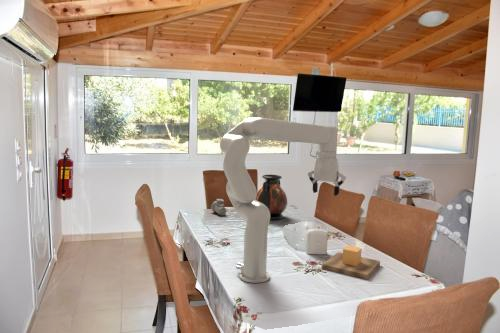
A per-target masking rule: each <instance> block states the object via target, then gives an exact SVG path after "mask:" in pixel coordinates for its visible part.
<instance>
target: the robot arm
mask: <svg viewBox="0 0 500 333" xmlns="http://www.w3.org/2000/svg"><path fill="white" fill-rule="evenodd" d="M338 131H339V130H338V128H337V127H336V126H330V125H329V126H328V125H317V124H312V123H311V124H309V123H302V122H295V121H290V120H284V119H275V118H266V117H259V116H258V117H256V116H255V117H253V116H251V117H247V118H245V119H243V120H242V121H241V122H239V123H238V124H237V125H235V126H234V127H233V128H232V129H230V130H229V131H228V132H227V133H226V134H224V135H223V136H222V137H221V139H220V142H219V147H220V150H221V152H222V153H224V154H225V155H224V159H223V162H222V163H223V164H222V166H223V167H222V168H223V172H224V175H225V178H226V179H227V182H226V186H225V190H226V194H227V196H228V199H229V201H230V203H231V204H232V207H233V208H234V210H235V212H236V214H237V215H238V217H240V219H242V220H244V221H245V222H246V225H245V228H244V234H243V262H239V261H238V262H237V263H236V266H235V269H237V270H240V272H239V274H238V275H239V278H240V280H241V281H243V282H246V283H250V284H251V283H252V284H259V283H265V282H267V281H269V280H270V279H271V278H270V277H271V274H270V273H269V272H268V271H267V259H268V257H267V256H268V235H269V234H268V232H269V225H270V222H271V220H270V212H269V209H268V208H267V207H266V206H265V205H264V204H263V203H261V202H258V201H256V200H255V198H256V195H257V192H258V191H257V188H256V185H255V183H254V182H253V180H252V178H251V175H250V174H249V171H248V169H247V167H246V158H247V156H248V154H249V151H250V147H251V146H250V141H251V140H252V139H255V140H256V139H257V140H263V141H264V140H265V141H275V142H283V143H284V142H285V143H306V144H315V145H318V151H316V152H315V154H316V155H317V157H316V158H315V163H314V169H313V170H311V171H310V172H309V171H308V173H307V175H308V178H309V181H310V182H311V183H312V193H314V194H315V193H317V192H318V191H319V190H318V188H319V187H318V186H319V184H318V181H320V182H329V183H333V184H334V185H335V186H334V188H333V195H334V196H336V197H337V196H338V195H339V194H340V187H341V185H342V184H344V182H345V181H346V179H347V177H346V176H345V175H344V174H343V173H341V172H340V169H339V167H340V166H339V159H338V158H337V153H338V152H337V150H338V135H339V133H338ZM339 178H341V179H340V180H339Z"/></svg>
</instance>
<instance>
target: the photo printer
mask: <svg viewBox="0 0 500 333" xmlns="http://www.w3.org/2000/svg"><path fill="white" fill-rule="evenodd" d="M328 239H329V238H328V231H327V230H326V229H322V228H311V229H309V230H307V231H306V243H305V246H306V249H305V254H307V255H327V254H328Z"/></svg>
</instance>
